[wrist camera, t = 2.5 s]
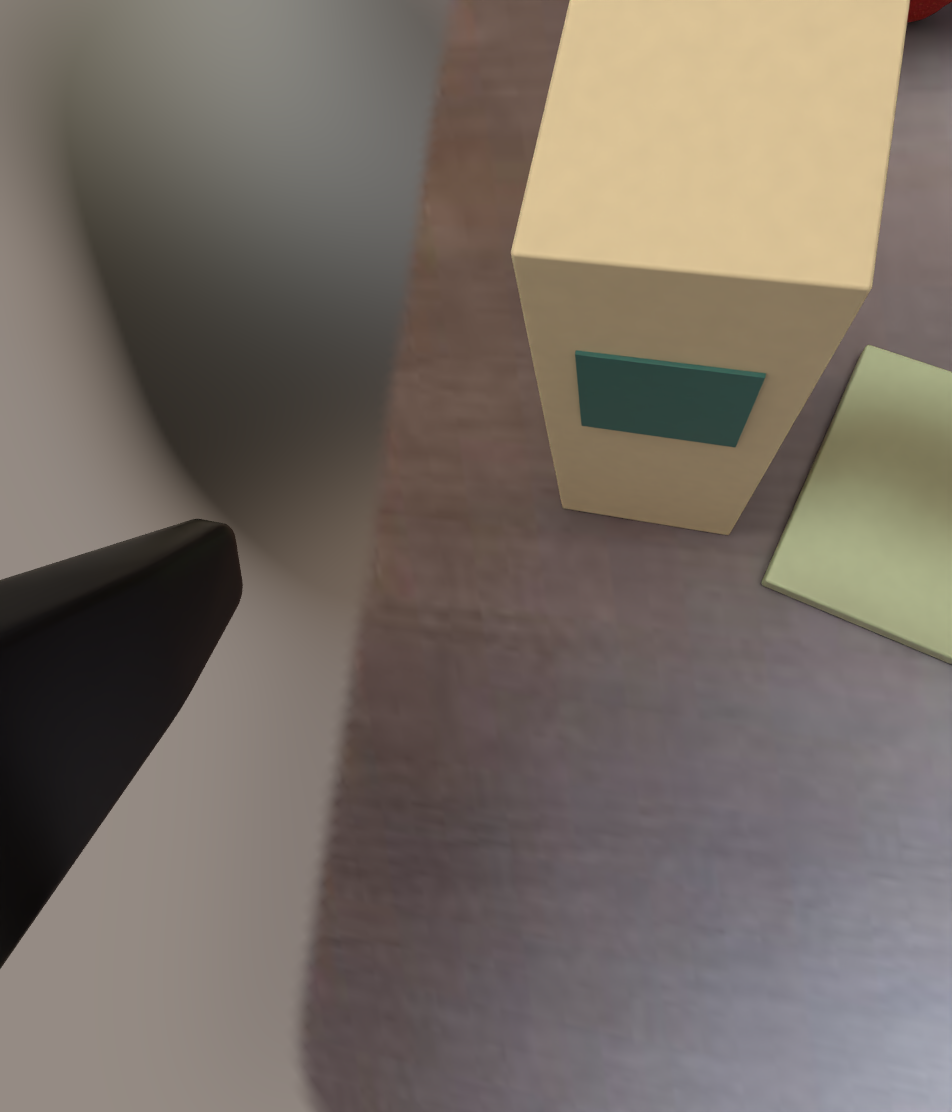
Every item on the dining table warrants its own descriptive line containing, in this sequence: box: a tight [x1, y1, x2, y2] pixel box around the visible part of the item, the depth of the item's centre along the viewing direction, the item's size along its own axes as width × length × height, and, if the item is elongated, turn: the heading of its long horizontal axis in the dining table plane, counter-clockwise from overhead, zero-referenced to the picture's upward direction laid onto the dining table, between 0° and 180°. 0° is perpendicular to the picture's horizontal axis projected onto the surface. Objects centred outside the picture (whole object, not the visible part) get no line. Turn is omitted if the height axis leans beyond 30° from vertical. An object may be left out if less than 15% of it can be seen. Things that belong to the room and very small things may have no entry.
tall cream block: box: [511, 0, 910, 535], centre depth 16 cm, size 5×5×12 cm
